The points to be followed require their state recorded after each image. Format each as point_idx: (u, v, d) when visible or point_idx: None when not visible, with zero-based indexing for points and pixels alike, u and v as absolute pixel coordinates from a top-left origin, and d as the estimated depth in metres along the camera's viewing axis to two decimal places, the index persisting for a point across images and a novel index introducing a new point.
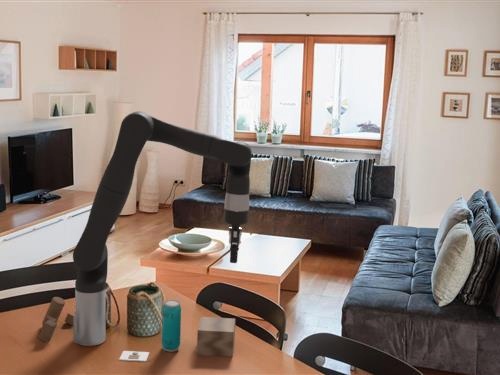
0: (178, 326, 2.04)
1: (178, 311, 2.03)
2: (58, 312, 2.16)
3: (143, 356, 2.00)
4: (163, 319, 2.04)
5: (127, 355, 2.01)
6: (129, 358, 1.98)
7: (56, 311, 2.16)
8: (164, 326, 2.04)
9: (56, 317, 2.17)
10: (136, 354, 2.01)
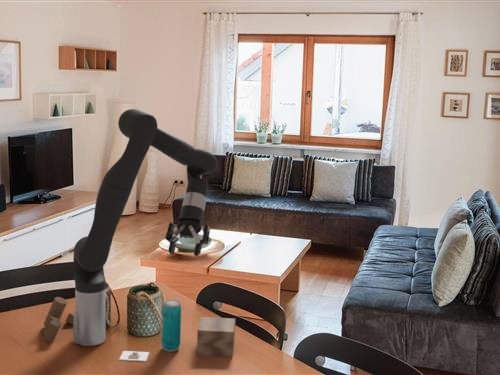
0: (178, 326, 2.04)
1: (178, 311, 2.03)
2: (60, 312, 2.16)
3: (143, 356, 2.00)
4: (163, 319, 2.04)
5: (127, 355, 2.01)
6: (129, 358, 1.98)
7: (58, 311, 2.16)
8: (164, 326, 2.04)
9: (58, 317, 2.17)
10: (136, 354, 2.01)
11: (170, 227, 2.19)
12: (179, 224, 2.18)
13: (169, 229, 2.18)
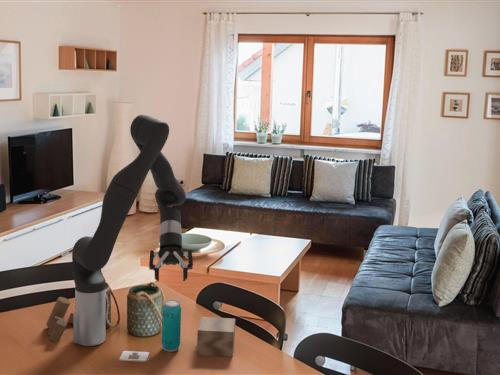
0: (178, 326, 2.04)
1: (178, 311, 2.03)
2: (64, 312, 2.17)
3: (143, 356, 2.00)
4: (163, 319, 2.04)
5: (127, 355, 2.01)
6: (129, 358, 1.98)
7: (62, 311, 2.16)
8: (164, 326, 2.04)
9: (61, 317, 2.17)
10: (136, 354, 2.01)
11: (152, 254, 2.18)
12: (161, 251, 2.20)
13: (151, 256, 2.18)
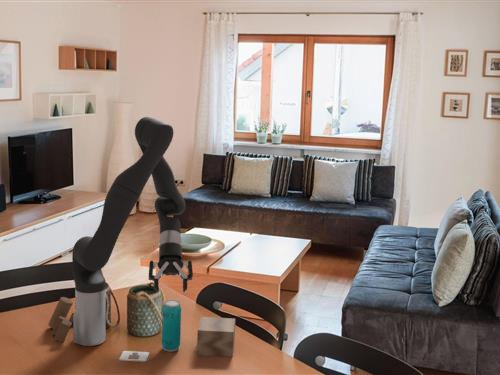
0: (178, 326, 2.04)
1: (178, 311, 2.03)
2: (66, 312, 2.17)
3: (143, 356, 2.00)
4: (163, 319, 2.04)
5: (127, 355, 2.01)
6: (129, 358, 1.98)
7: (65, 311, 2.16)
8: (164, 326, 2.04)
9: (64, 317, 2.17)
10: (136, 354, 2.01)
11: (151, 265, 2.16)
12: (160, 262, 2.17)
13: (151, 267, 2.16)
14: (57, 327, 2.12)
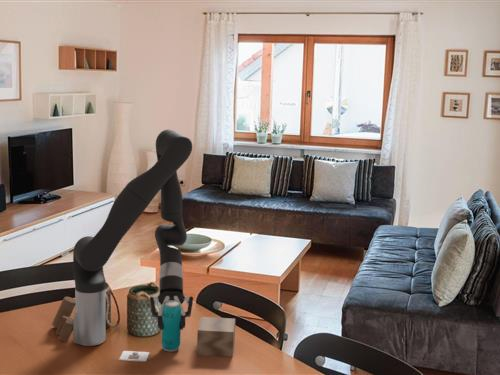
0: (178, 326, 2.04)
1: (178, 311, 2.03)
2: (70, 311, 2.17)
3: (143, 356, 2.00)
4: (163, 319, 2.04)
5: (127, 355, 2.01)
6: (129, 358, 1.98)
7: (68, 311, 2.17)
8: (164, 326, 2.04)
9: (68, 317, 2.17)
10: (136, 354, 2.01)
11: (152, 301, 2.07)
12: (161, 296, 2.09)
13: (152, 303, 2.07)
14: (61, 326, 2.12)
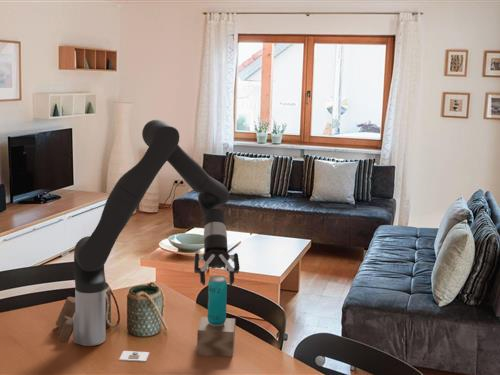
0: (224, 301, 2.05)
1: (225, 286, 2.04)
2: (73, 312, 2.17)
3: (143, 356, 2.00)
4: (209, 294, 2.04)
5: (127, 355, 2.01)
6: (129, 358, 1.98)
7: (71, 311, 2.17)
8: (210, 301, 2.04)
9: (71, 317, 2.18)
10: (136, 354, 2.01)
11: (197, 257, 2.11)
12: (206, 254, 2.12)
13: (197, 259, 2.10)
14: (62, 326, 2.12)
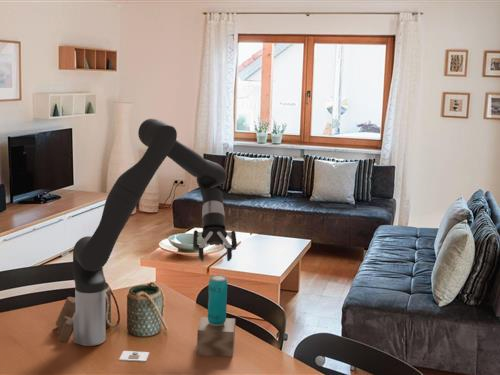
0: (224, 301, 2.05)
1: (225, 285, 2.04)
2: (73, 312, 2.17)
3: (143, 356, 2.00)
4: (210, 294, 2.04)
5: (127, 355, 2.01)
6: (129, 358, 1.98)
7: (71, 311, 2.16)
8: (210, 300, 2.04)
9: (70, 317, 2.17)
10: (136, 354, 2.01)
11: (196, 234, 2.18)
12: (205, 231, 2.19)
13: (195, 236, 2.17)
14: (62, 327, 2.12)
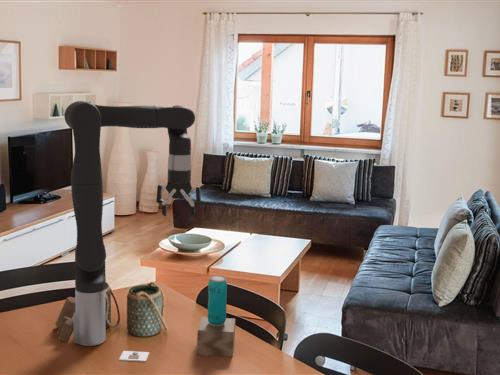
0: (224, 301, 2.05)
1: (225, 286, 2.04)
2: (73, 312, 2.17)
3: (143, 356, 2.00)
4: (209, 294, 2.04)
5: (127, 355, 2.01)
6: (129, 358, 1.98)
7: (71, 311, 2.16)
8: (210, 301, 2.04)
9: (70, 317, 2.17)
10: (136, 354, 2.01)
11: (159, 190, 2.16)
12: (168, 186, 2.15)
13: (159, 192, 2.16)
14: (62, 327, 2.12)
